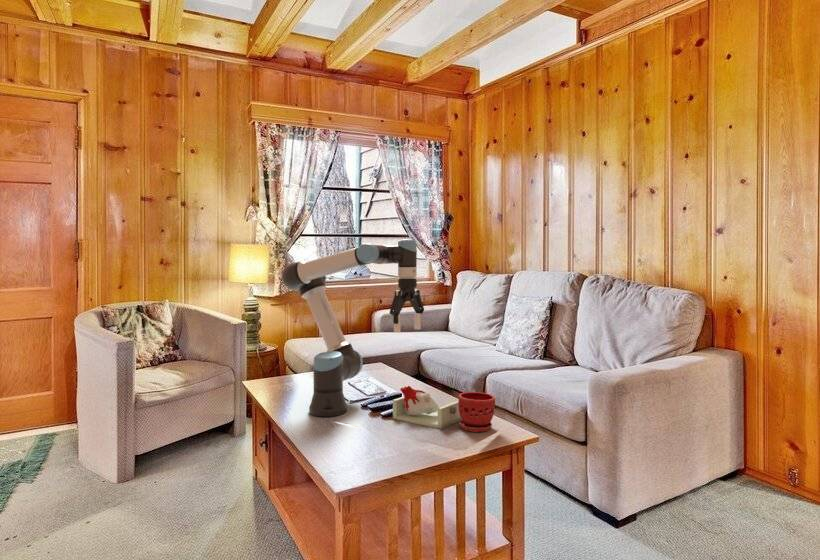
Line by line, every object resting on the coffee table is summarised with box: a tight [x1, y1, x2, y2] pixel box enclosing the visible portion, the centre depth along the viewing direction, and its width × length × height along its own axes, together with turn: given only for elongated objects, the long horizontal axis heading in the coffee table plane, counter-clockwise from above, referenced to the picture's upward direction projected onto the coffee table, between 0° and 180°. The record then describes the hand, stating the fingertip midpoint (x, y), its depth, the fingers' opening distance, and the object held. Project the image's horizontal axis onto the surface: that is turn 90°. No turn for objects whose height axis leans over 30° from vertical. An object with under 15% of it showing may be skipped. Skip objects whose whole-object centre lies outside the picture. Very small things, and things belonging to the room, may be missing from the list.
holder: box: [392, 396, 462, 430], centre depth 194 cm, size 25×14×7 cm, turn 53°
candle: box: [399, 385, 439, 416], centre depth 196 cm, size 9×11×15 cm
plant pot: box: [457, 391, 496, 433], centre depth 183 cm, size 13×13×12 cm
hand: (407, 330), depth 206 cm, fingers open, 13 cm apart
